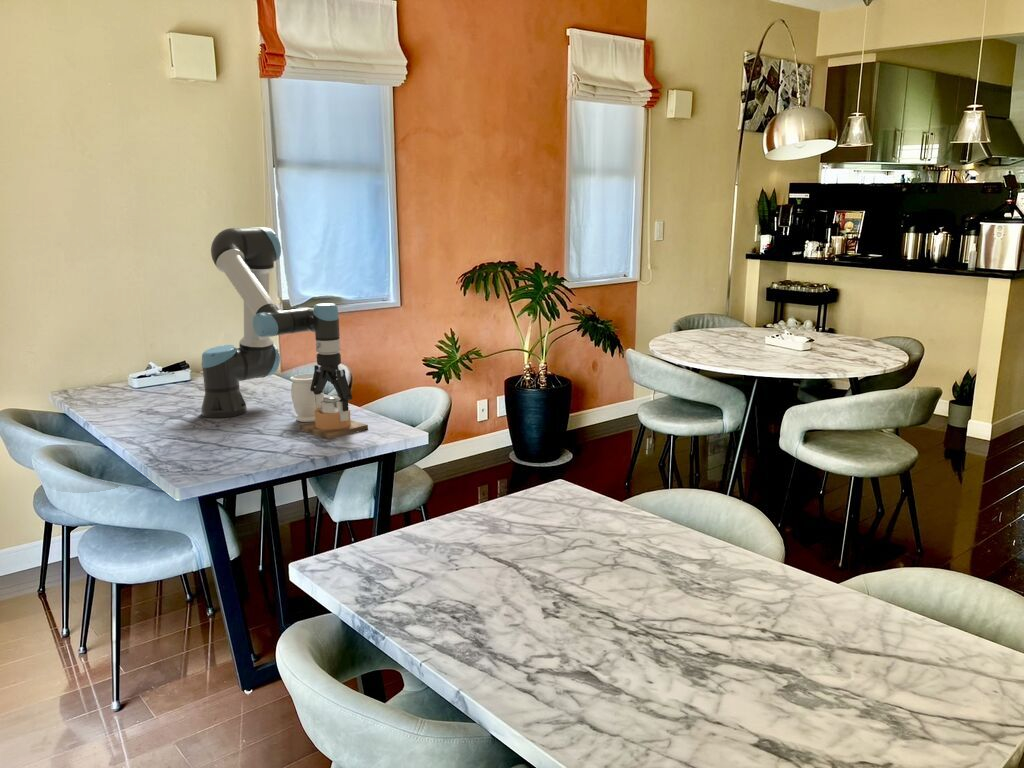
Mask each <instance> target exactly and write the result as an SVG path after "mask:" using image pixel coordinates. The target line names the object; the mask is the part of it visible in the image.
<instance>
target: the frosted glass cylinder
mask: <svg viewBox="0 0 1024 768" xmlns="http://www.w3.org/2000/svg"><path fill="white" fill-rule="evenodd" d="M339 400H340V398H339V396H338V395H330V396H324V398H323V400H322V401H321V413H328V414H330V413H339V412H340V409H339Z"/></svg>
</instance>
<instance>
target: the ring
mask: <svg viewBox="0 0 1024 768" xmlns="http://www.w3.org/2000/svg"><path fill="white" fill-rule="evenodd" d="M348 416H349V420H346V421H342V422H341V421H340V412H339V413H330V414H328V413H321V408H318V409H316V410H315V421H314V422H315V425H316V428H319V429H327V430H331V429H340V428H345V427H348V426H349V425H351V420H352V419H351V409H350V407H349V406H348Z"/></svg>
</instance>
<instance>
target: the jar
mask: <svg viewBox="0 0 1024 768" xmlns="http://www.w3.org/2000/svg"><path fill="white" fill-rule="evenodd" d="M313 375H314V373H301V374H296V375H293V376H290V379H289V380H290V382H291V389H290V392H291V393H290V395H291V400H292V404H293V409H294V412H295V413H296V421H297V422H301V423H310V422H315V410H316V402H315V394H314V392H313V391H311V390H310V388H311V384H312V380H313ZM314 387H316V386H314ZM323 394H324V391H323Z"/></svg>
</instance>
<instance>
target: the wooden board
mask: <svg viewBox="0 0 1024 768" xmlns="http://www.w3.org/2000/svg"><path fill="white" fill-rule="evenodd" d="M350 420H351V425H349V426H348V427H345V428H340V429H331V430H327V429H319V428H316V425H315V421H313V422H305V423H302V424H298V430H300V431H302V432H306V433H308V434H312V435H315V436H318V437H321V438H324V439H327V440H330V439H331V440H332V439H335V438H338V437H342V436H343V437H344V436H346V435H350V433H351V434H355V433H358V432H357V431H359V432H362V431H361V430H363V431H366V430H365V429H367V430H369V425H368V424H366V423H362V422H360V421H359V422H358V421H355V420H353V419H350ZM354 432H355V433H354Z"/></svg>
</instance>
